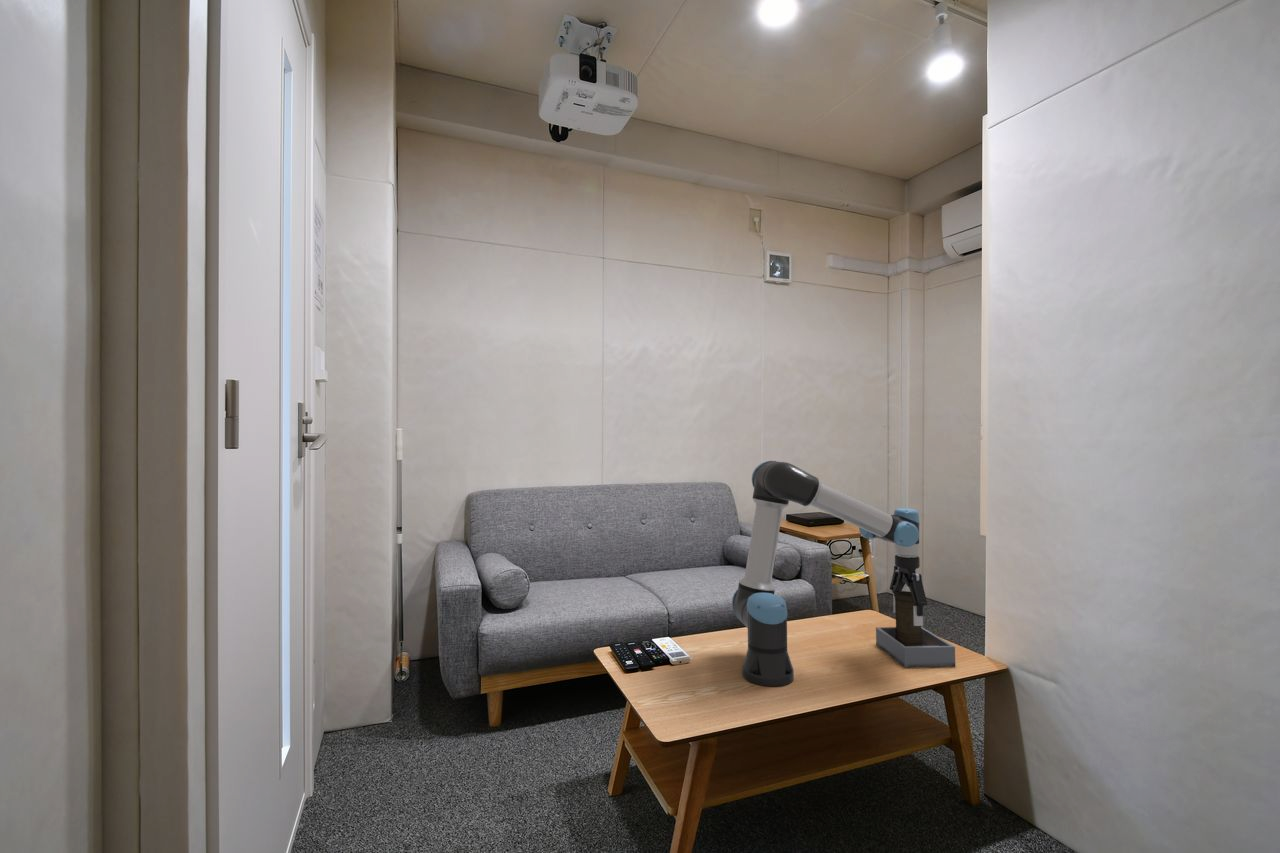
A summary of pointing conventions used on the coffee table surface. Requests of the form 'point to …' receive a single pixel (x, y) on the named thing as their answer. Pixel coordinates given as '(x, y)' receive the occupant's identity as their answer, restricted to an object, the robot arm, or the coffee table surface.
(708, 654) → the coffee table surface
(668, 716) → the coffee table surface
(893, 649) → the walled box
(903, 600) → the container
